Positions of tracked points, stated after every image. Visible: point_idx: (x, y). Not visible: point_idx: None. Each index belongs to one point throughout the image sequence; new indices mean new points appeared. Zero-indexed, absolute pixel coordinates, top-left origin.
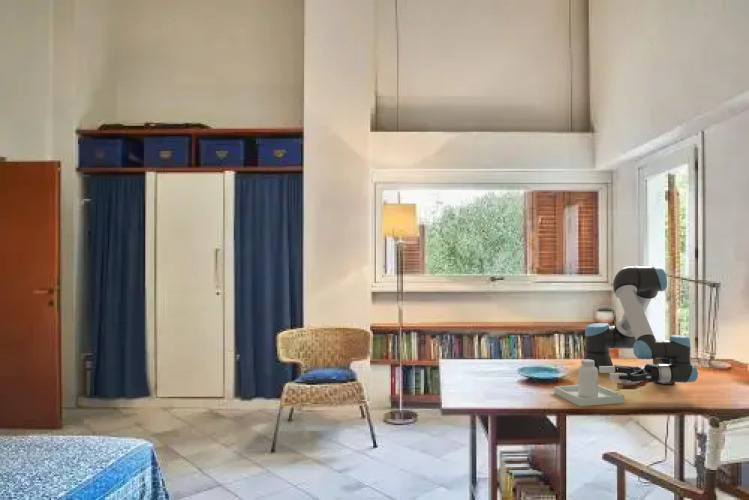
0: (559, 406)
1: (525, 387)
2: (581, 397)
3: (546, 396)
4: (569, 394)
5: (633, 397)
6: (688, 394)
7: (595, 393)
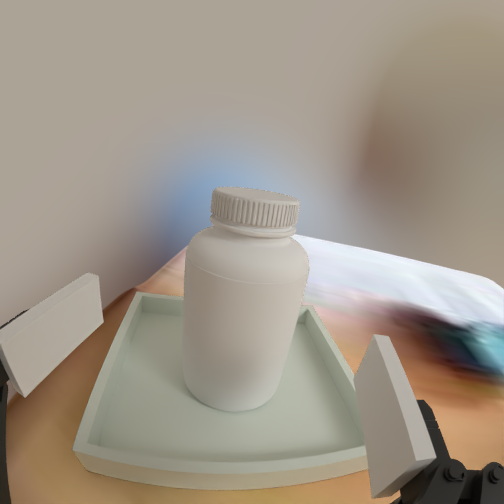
0: (164, 286)
1: (363, 300)
2: None
3: None
4: None
5: None
6: None
7: (183, 368)
